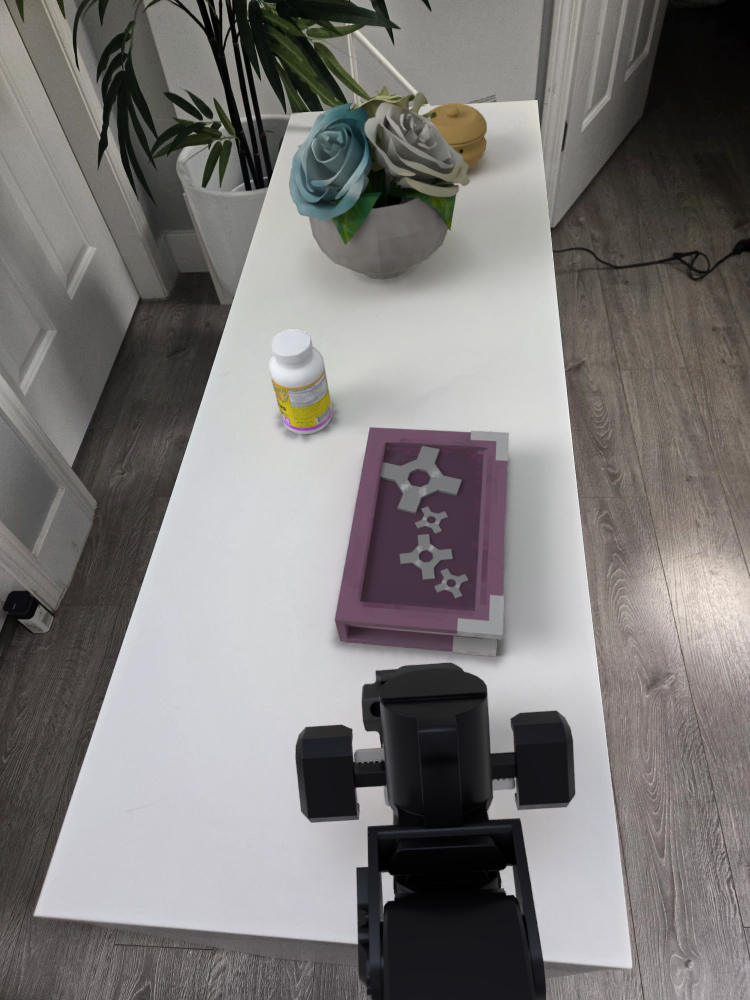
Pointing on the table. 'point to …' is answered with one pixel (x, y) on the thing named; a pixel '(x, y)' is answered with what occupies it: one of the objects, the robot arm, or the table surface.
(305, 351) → the supplement bottle
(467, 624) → the book
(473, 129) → the pot
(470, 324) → the table surface
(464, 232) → the table surface
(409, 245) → the flower arrangement
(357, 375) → the table surface
